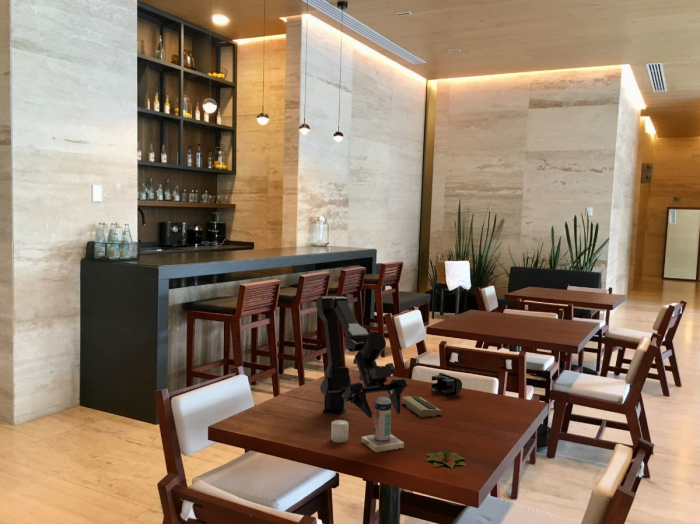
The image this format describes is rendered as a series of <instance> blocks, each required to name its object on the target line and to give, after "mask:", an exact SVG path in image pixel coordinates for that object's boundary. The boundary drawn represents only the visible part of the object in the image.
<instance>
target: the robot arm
mask: <svg viewBox="0 0 700 524" xmlns="http://www.w3.org/2000/svg"><path fill="white" fill-rule="evenodd" d="M315 307H316V310H317V315H318V317H319V318H320V319H321V321H322V322H323V326H324V327H323V328H324V335H325V345H326V356H327V363H328V364H327V367H326V370H325V371H324V379H323V380H322V382H321V384H320V385H319V387H320V388H319V389H320V393H322V395H324V406H323V407H324V409H322V413H329V414H336V415H337V414H338V415H340V414H342V413H344V411H345V410H346V409H347V402H350V404H354V405H355V406H356V407H357V408H359V409H360V410H361V411H362V412H363V414H365V416H367V417H368V418H369V419H372V418H373V413H372V410H371V408H370V405H369V403H368V402H369V401H368V400H367V394H373V393H380V392H387V393H388V395H389V396H388V397H389V398H390V400H391V405H392V406H393V408H394V410H395V412H396V414H398V415H400V414H401V395H402V394H403V392H404V391H405V390H406V389H407V387H408V383H407V380H406V379H405V378H403V377H399V378H392V379H391V381H390V382H389V383H386V382H387V381H388V378H391V377H392V375H394V374H396V367H395V366H394V363H393V362H390V363H387V364H385V365H378V364H377V362H376V360H377V359H379V357H380V356H381V354H382V352H383V351H384V350H385V348H386V345H387V341H386V339H385V338H384V337H383V336H381V335H379V334H377V332H376V331H369V332H368V330H367V329H366V328H365V327H363V326H361V325H360V324H359V322H358V320H357V318H356V317H355V314H354V313H353V311H352V309H351V307H350V305H349V301H348V297H346V296H338V295H321V296H319V297H318V298H317V299H316V300H315ZM339 323H340V325H341V327H342V329H343V331H344V333H345V337H344V344H345V347H346V348H347V350H348V351H349V353H350V352H352V353H355V352H357V353H356V354H355V355H354V358H353V363H352V364H353V365H356V366H357V369H358V372H359V374H360V376H359V377H358V378H359V381H362V383H361V382H355V383H352V380H351V377H350V369H349V368H348V366H345V363H343V356H342V355H343V354H342V348H341V339H340V337H341V336H340V328H339ZM385 383H386V384H385Z"/></svg>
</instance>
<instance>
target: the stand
mask: <svg viewBox="0 0 700 524" xmlns="http://www.w3.org/2000/svg"><path fill="white" fill-rule="evenodd" d="M360 439H361V442H362V444H364V445H365V446H366V447H368V448H369V449H371V450H372V451H373V452H375V453H382V452H387V450H388V451H392V450H393V449H394V450H399V448H400V449H404V448H405V446H404V445H405V443H404V441H402V440H401V439H400V438H398V437H396V436H394V435H393V434H391V436H390V439H389V440H387V441H378V440H376V439H375V438H374V434H370V435H364V436H361V438H360ZM381 451H382V452H381Z"/></svg>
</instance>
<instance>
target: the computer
mask: <svg viewBox="0 0 700 524" xmlns="http://www.w3.org/2000/svg"><path fill="white" fill-rule="evenodd" d="M402 404H403V405H402ZM400 405H402V406H406V408H407V409H408V410H409V411H410V412H412V411H413V412H412V413H414V412H415V413H416V414H415V413H414V414H415V415H417V416H418V415H419V416H418V417H419V418H421V417H422V418H426V417H425V416H432V417H437V416H436V415H441V416H442V414H443V411H442V410H441V409H440V408H438V407H436V405H434V404H431V402H429V401H427V400H426V399H424V398H423V397H420V396H413V395H412V396H402V397H401V400H400Z"/></svg>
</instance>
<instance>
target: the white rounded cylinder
mask: <svg viewBox="0 0 700 524" xmlns="http://www.w3.org/2000/svg"><path fill="white" fill-rule="evenodd" d="M330 429H331V430H330V433H331V434H330V438H331V439H330V440H331V441H332V442H333V443H346V442H348V441H349V422H348V421H346V420H344V419H343V420H342V419H337V420H336V419H335V420H333V421H331V428H330Z"/></svg>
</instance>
